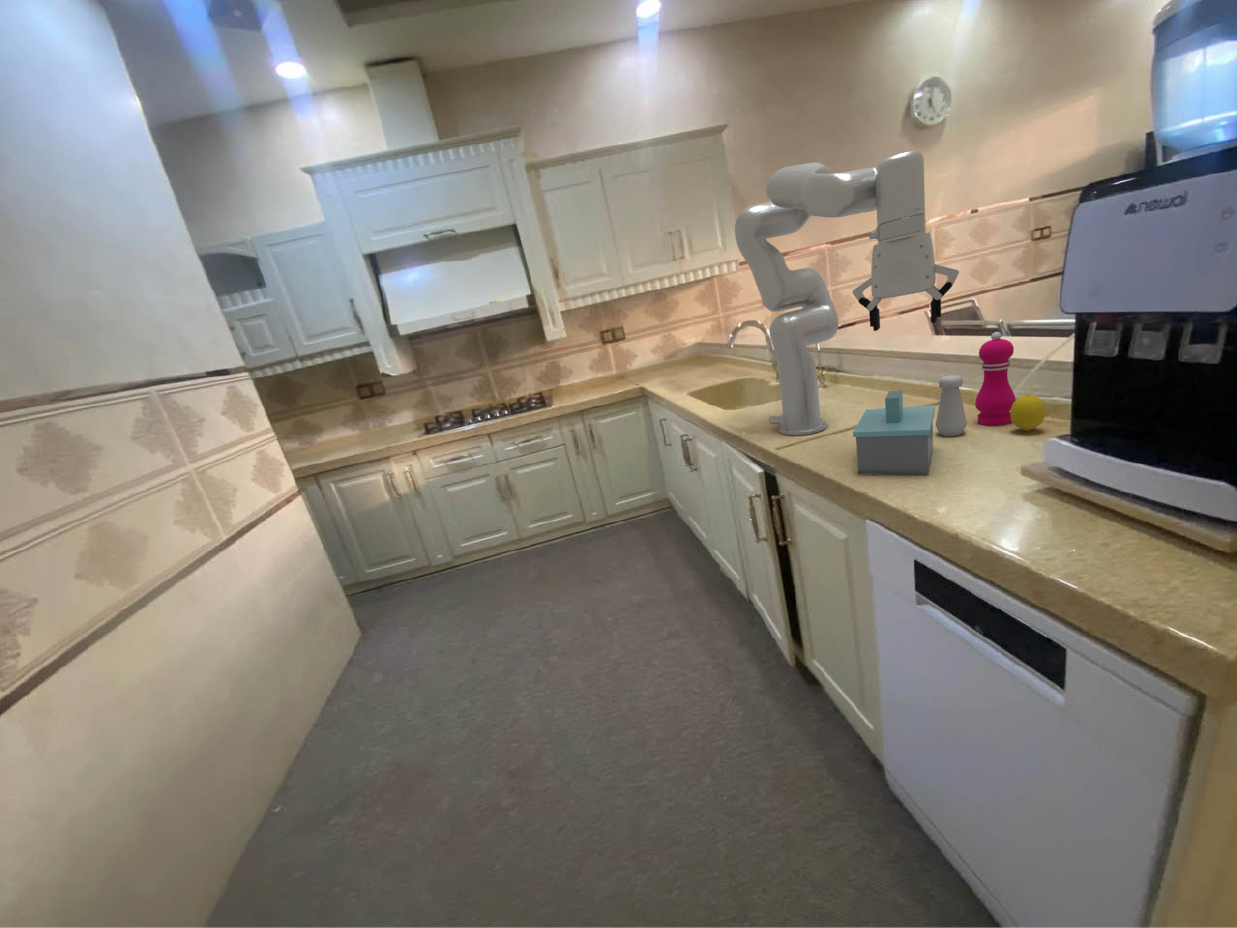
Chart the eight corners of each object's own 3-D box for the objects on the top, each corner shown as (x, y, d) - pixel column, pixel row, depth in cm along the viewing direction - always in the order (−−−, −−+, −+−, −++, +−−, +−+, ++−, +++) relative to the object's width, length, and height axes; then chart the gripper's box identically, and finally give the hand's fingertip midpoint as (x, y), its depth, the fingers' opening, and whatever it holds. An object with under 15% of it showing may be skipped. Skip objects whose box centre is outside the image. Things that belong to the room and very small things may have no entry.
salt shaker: (962, 428, 111) (962, 371, 107) (970, 436, 106) (971, 376, 102) (932, 431, 113) (931, 375, 109) (939, 438, 108) (938, 380, 104)
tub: (858, 474, 99) (855, 436, 96) (870, 448, 111) (868, 414, 109) (928, 474, 92) (927, 434, 90) (933, 447, 104) (932, 410, 102)
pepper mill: (1001, 415, 113) (1003, 327, 108) (1023, 422, 107) (1026, 329, 101) (968, 420, 115) (968, 334, 109) (987, 428, 108) (988, 336, 102)
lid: (853, 442, 97) (851, 407, 95) (866, 418, 110) (864, 387, 107) (930, 441, 89) (929, 402, 87) (934, 415, 102) (934, 381, 100)
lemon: (1039, 426, 103) (1041, 389, 100) (1048, 434, 98) (1050, 395, 96) (1006, 428, 105) (1007, 392, 103) (1013, 436, 100) (1014, 398, 98)
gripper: (845, 243, 92) (851, 335, 97) (957, 216, 81) (958, 321, 86) (854, 243, 97) (859, 330, 102) (959, 217, 87) (960, 315, 92)
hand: (904, 326), depth 94 cm, fingers open, 9 cm apart
